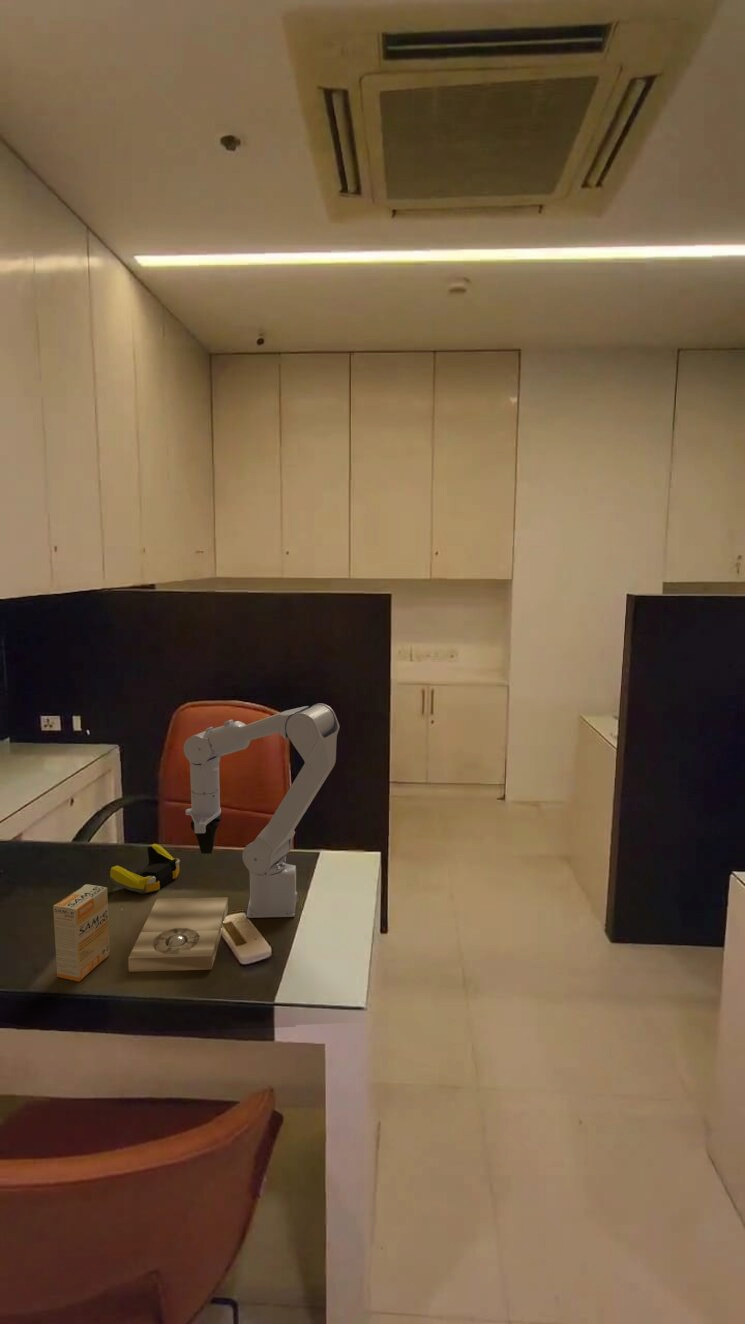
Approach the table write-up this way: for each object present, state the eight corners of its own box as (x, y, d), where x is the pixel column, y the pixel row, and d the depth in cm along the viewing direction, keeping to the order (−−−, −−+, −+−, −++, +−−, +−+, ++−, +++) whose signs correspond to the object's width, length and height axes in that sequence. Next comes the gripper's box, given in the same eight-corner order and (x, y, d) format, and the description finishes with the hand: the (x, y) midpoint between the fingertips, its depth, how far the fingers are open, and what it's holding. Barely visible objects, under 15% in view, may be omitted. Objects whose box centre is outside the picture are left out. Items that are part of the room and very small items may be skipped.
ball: (167, 958, 120) (185, 954, 122) (173, 952, 118) (190, 947, 120) (164, 941, 122) (181, 937, 124) (169, 934, 120) (186, 930, 122)
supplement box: (80, 983, 112) (76, 910, 110) (56, 977, 114) (51, 905, 112) (112, 955, 120) (108, 886, 118) (89, 950, 121) (85, 882, 119)
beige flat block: (157, 910, 135) (156, 898, 135) (228, 908, 136) (227, 897, 136) (128, 971, 116) (128, 958, 115) (211, 969, 117) (211, 956, 116)
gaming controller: (106, 892, 142) (144, 902, 138) (104, 868, 141) (143, 877, 137) (154, 863, 156) (189, 871, 152) (153, 840, 155) (189, 848, 151)
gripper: (192, 777, 145) (194, 837, 147) (177, 802, 131) (179, 868, 133) (225, 777, 145) (226, 837, 148) (214, 802, 131) (216, 868, 133)
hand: (206, 852), depth 140 cm, fingers closed
